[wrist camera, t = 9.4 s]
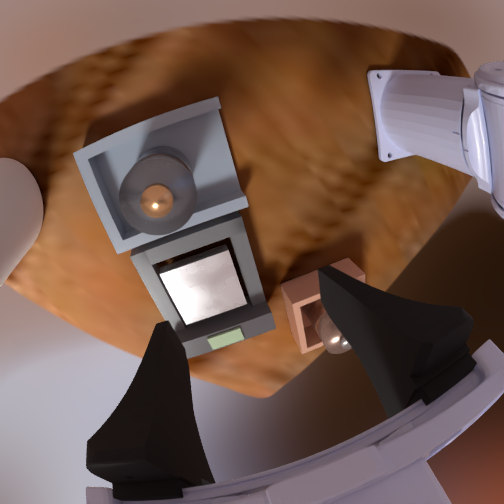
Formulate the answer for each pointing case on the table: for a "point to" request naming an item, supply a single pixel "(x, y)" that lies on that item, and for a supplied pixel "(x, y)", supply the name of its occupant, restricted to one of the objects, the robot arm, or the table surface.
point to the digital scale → (221, 325)
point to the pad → (203, 284)
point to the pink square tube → (307, 292)
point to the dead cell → (325, 328)
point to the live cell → (158, 192)
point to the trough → (173, 135)
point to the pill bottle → (17, 214)
